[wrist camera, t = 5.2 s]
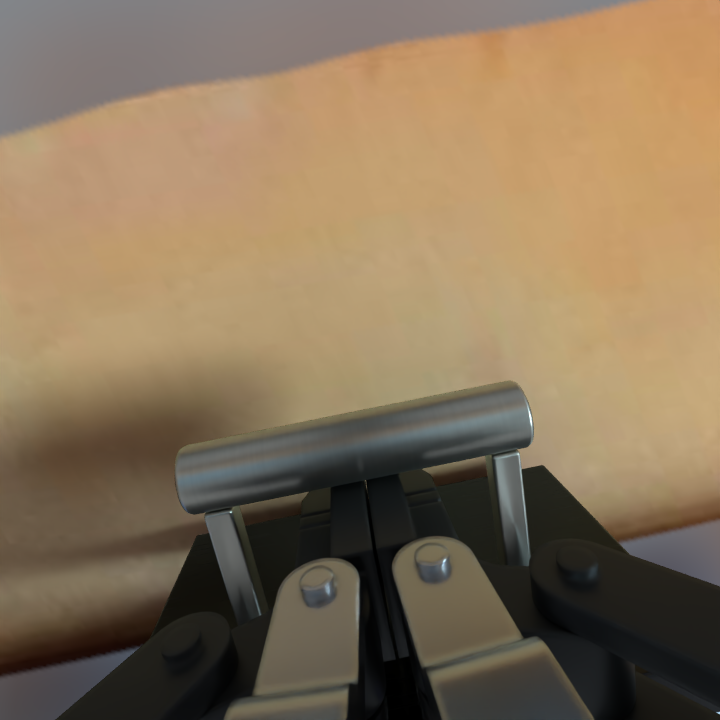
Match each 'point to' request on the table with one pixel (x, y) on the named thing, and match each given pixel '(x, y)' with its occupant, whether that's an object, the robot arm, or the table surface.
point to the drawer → (362, 462)
